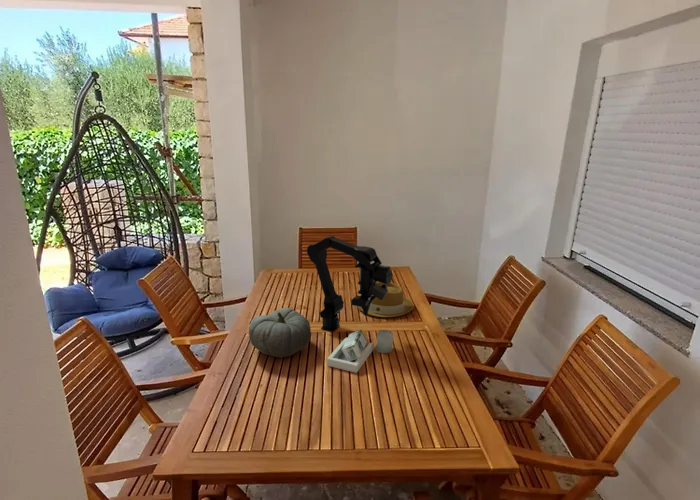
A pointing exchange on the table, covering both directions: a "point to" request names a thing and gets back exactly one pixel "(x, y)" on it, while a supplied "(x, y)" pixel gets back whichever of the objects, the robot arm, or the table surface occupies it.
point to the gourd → (280, 332)
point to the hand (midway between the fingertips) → (366, 313)
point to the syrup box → (354, 345)
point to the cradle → (340, 361)
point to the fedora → (390, 303)
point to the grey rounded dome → (384, 341)
